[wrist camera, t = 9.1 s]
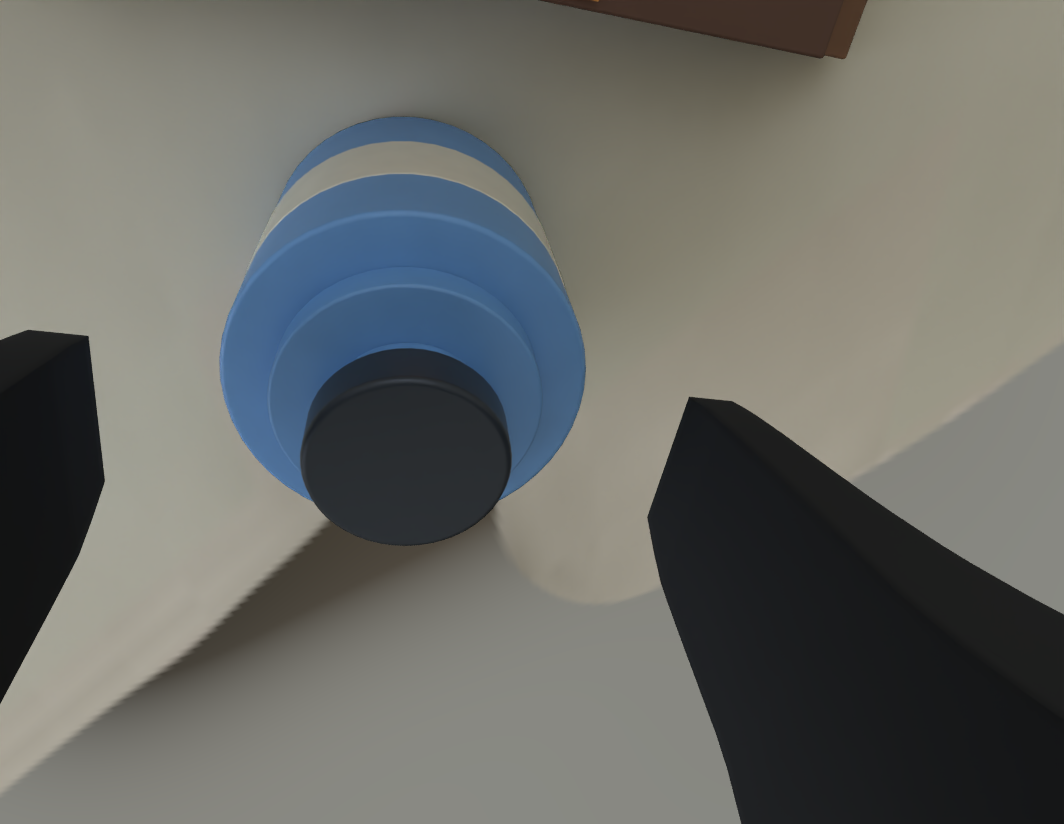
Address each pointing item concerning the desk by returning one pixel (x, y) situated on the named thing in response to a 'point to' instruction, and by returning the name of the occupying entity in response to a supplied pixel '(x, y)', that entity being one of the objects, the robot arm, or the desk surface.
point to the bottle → (403, 334)
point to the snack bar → (748, 20)
